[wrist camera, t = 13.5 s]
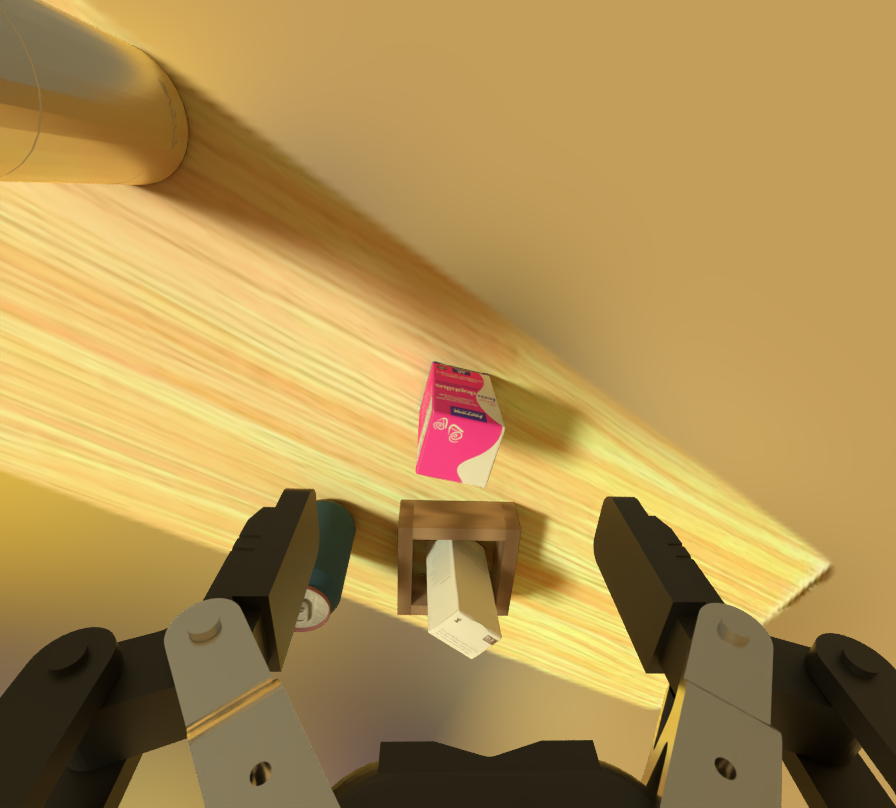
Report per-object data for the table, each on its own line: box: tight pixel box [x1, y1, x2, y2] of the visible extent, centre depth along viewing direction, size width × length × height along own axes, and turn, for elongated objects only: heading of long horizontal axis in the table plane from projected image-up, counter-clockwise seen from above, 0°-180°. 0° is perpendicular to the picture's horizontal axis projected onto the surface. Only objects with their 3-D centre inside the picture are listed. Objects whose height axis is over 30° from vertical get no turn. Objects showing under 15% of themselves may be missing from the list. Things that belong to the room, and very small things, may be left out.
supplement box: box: [416, 362, 506, 488], centre depth 39 cm, size 6×6×12 cm
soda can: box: [294, 500, 356, 632], centre depth 45 cm, size 7×7×12 cm
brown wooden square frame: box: [398, 500, 521, 616], centre depth 50 cm, size 13×13×4 cm
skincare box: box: [426, 540, 502, 659], centre depth 47 cm, size 6×4×12 cm
